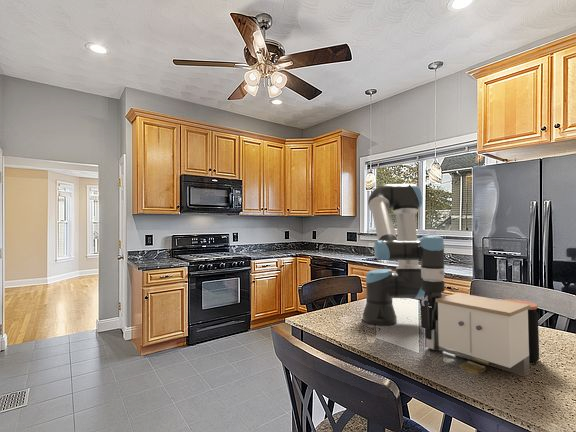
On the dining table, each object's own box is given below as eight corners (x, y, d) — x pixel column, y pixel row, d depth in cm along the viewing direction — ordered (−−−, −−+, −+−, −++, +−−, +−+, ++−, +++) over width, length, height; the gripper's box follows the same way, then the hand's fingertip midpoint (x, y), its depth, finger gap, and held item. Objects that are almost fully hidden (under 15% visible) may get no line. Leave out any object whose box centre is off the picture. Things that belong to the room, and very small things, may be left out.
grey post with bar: (425, 346, 112) (424, 318, 113) (431, 344, 115) (431, 316, 115) (486, 366, 96) (486, 333, 96) (492, 363, 98) (491, 330, 99)
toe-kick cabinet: (435, 361, 102) (434, 299, 103) (459, 350, 111) (458, 293, 112) (511, 388, 85) (509, 313, 86) (532, 372, 94) (530, 304, 95)
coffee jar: (492, 352, 110) (490, 299, 110) (520, 351, 111) (519, 298, 111) (516, 365, 99) (515, 307, 100) (548, 364, 100) (546, 306, 101)
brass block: (460, 369, 97) (460, 364, 97) (468, 365, 100) (468, 361, 100) (477, 376, 93) (477, 371, 93) (485, 371, 96) (485, 366, 96)
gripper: (429, 283, 105) (430, 355, 104) (455, 278, 115) (457, 344, 114) (409, 280, 111) (410, 348, 110) (435, 276, 121) (436, 338, 120)
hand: (434, 346), depth 112 cm, fingers closed on grey post with bar, 4 cm apart
